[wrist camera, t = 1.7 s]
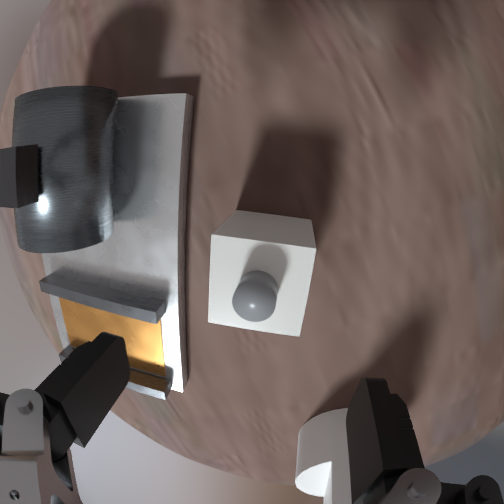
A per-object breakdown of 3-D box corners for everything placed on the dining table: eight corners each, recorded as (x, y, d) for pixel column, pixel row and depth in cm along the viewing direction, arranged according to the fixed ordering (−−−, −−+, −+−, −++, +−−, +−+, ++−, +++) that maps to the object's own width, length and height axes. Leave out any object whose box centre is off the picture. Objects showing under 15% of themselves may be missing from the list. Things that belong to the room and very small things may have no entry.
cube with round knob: (236, 209, 20) (202, 243, 13) (311, 219, 19) (318, 260, 12) (231, 277, 22) (200, 337, 15) (300, 287, 21) (298, 353, 14)
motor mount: (49, 111, 19) (-44, 115, 10) (194, 96, 18) (106, 61, 8) (72, 345, 27) (18, 400, 18) (187, 381, 26) (148, 465, 16)
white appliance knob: (298, 410, 25) (289, 521, 14) (389, 403, 24) (411, 508, 13) (298, 456, 28) (289, 544, 17) (374, 450, 27) (382, 537, 15)
